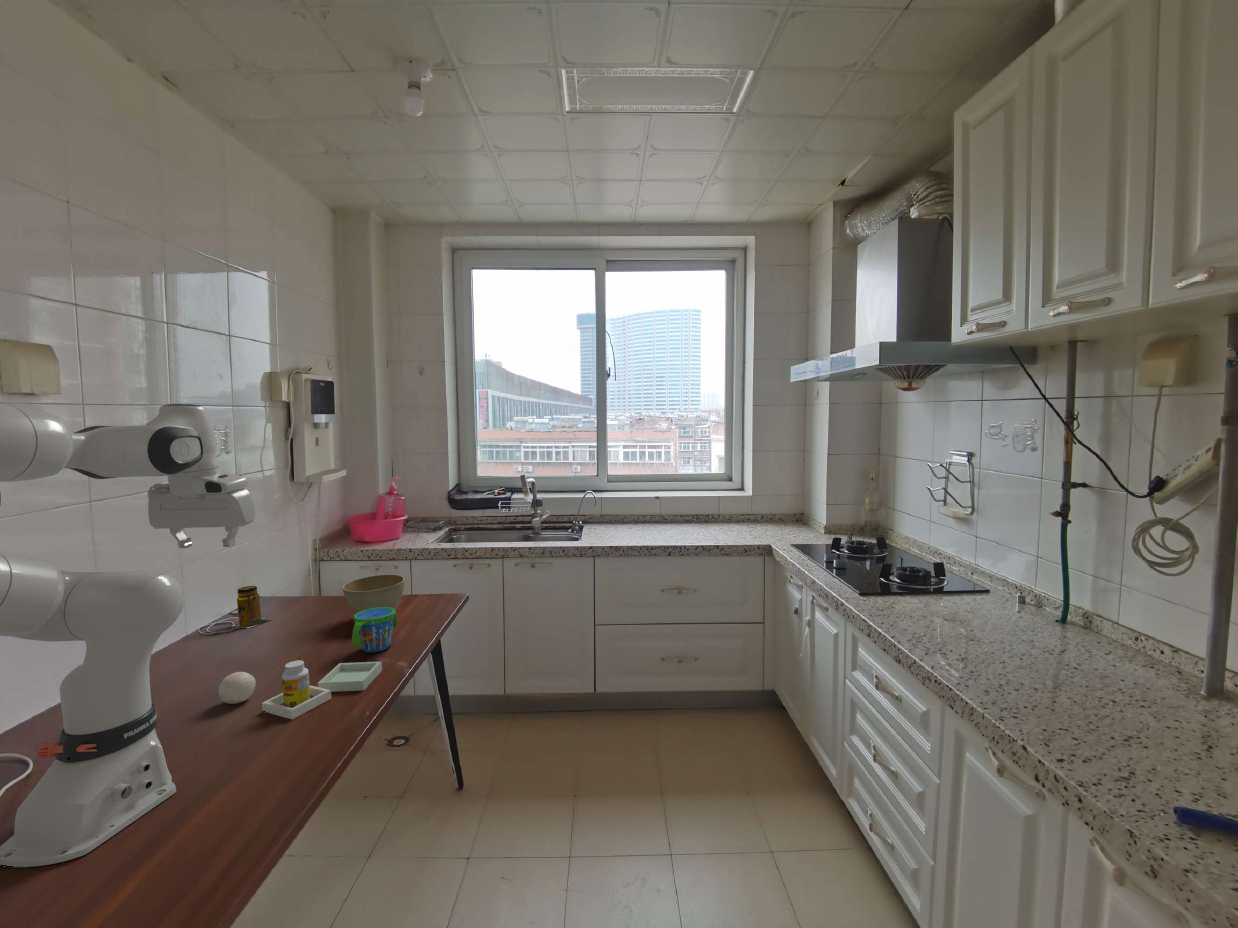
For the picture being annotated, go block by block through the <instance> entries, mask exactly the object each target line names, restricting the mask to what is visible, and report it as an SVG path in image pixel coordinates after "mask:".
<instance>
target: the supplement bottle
mask: <svg viewBox="0 0 1238 928" xmlns="http://www.w3.org/2000/svg"><path fill="white" fill-rule="evenodd" d="M309 672H310V671H309V669H308V668H307V667H305V662H304V660H299V659H298V660H294V661H290V662H287V663H286V664H285V665H284V672H283V673H282V674H281V684H282V693H283V698H284V703H283V706H287V707H290V708H294V707H295V706H297V705H299V704H301V703H303V702H305V701H307V700H309V699H311V698H312V696H310V673H309Z"/></svg>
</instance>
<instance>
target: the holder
mask: <svg viewBox="0 0 1238 928" xmlns="http://www.w3.org/2000/svg"><path fill="white" fill-rule="evenodd" d="M310 697H311V699H309V700H307V701H305V702H303V703H301V704H299V705H297V706H295V707H294V708H290V707H287V706H284V698H283V692H281V693H280V694H277V695H275V696H273V697H271V698H269V699H267V700H265V701H263V702H261V706H262V712H263V711H265V712H264V713H267V712H268V714H271V715H275V716H277V717H278V716H279V717H282V718H285V719H289V720H294V719H297V718H298V717H300V716H301V715H304V714H305V713H308V712H309V711H311V710H313V709H314V708H316V707H318V706H320V705H323V704H324V703H326V702H327V701H330V700H332V692H331V690H328V689H324V688H319V687H318V686H314V685H310ZM282 704H283V705H282Z"/></svg>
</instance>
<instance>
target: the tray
mask: <svg viewBox="0 0 1238 928" xmlns="http://www.w3.org/2000/svg"><path fill="white" fill-rule="evenodd" d="M382 671H383V664H382V661H366V662H364V661H362V662H361V661H360V662H340V663H338V664H337V665H336V666H334V668H332V670H330V671H329V672H328V673H327V674H326V675H324V677H322V678H321V679H320V680H319V681H318V682H317V687H319V688H324V689H328V690H331V693H334V692H335V693H336V692H337V693H338V692H356V691H358V692H359V691H365V690H366V689H367V688H368V686H369V685H370V684H371V683H372V682H373V681H374V680H375V679H376V678H377V677H378V676H379V675H380V674H381V672H382Z"/></svg>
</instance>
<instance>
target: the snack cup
mask: <svg viewBox="0 0 1238 928" xmlns="http://www.w3.org/2000/svg"><path fill="white" fill-rule="evenodd" d="M398 620H399V619H398V617H397V612H396V611H395V610H394V609H393V608H389V607H378V608H371V609H367V610H363V611H360V612H358V613H357V614H353V621H354V625H353V629H352V634H351V635H352V636H351V643H352V645H353V646H354V647H361V649H362V651H364V652H366V653H377V652H378V653H379V652H383V651H385V650H387V649H388V648H390V647H391V646H392V640H393V630H394V628H397V627H398V625H399V621H398Z"/></svg>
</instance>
